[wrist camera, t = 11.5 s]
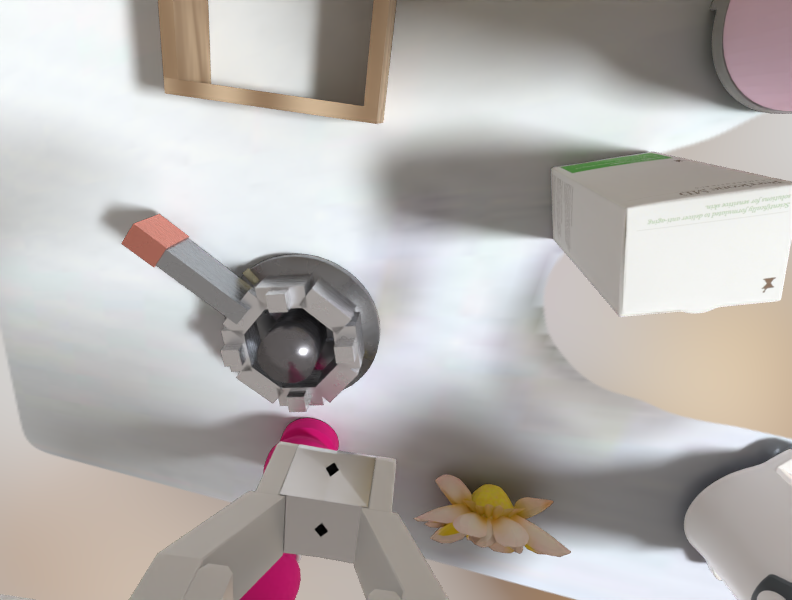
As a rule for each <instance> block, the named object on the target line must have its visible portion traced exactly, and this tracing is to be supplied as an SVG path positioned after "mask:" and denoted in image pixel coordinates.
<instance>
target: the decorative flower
mask: <svg viewBox="0 0 792 600" xmlns="http://www.w3.org/2000/svg"><path fill="white" fill-rule="evenodd" d="M435 482H436V483H437V485H438V486H439V488H440V489H441V491H442V492H443V493H444V495H445V496H446V497H447V499H448V500H449V501H450V503H451V504H452V505H447V506H443V507H439V508H436V509H433V510H431V511H429V512H427V513H425V514H422V515H420V516H418V517H416V518H414V519H415V520H416V521H423V522H425V521H428V522H427V523H425V525H427V526H429V527H433V528H438V527H440V528H439V529H438V530H437V531H436V532H435V533H434V534H433V535H432V536H431V537H430V539H432V540H434V541H437V542H440V543H453V542H456V541H458V540H461V539H463V538H464V537H465V536H466V535H467V536H466V538H467V540H471V541H472V542H473V543H474V544H475V545H477V546H480V547H489V548H491V549H492V550H493V551H497V552H502V553H512V552H514V551H515V552H517V553H519V554H520V553H522V551H523V546H525V547H526V548H527V549H528V550H530V551H533V552H535V553H537V554H547V555H551V556H557V557H561V556H564V555H567V554H570V553H571V551H570V550H568V549H567V548H566V547H565V546H563V545H562V544H561V543H559V542H558V541H557V540H556V539H555V538H553V537H552V536H551V535H549V534H548V533H547V532H545V531H544V530H542V529H541V528H539V527H538V526H536V525H535V524H533V523H531V522H530V521H528V520H526V519H528V518H530V517H532V516H534V515H536V514H538V513H540V512H542V511H543V510H545V509H547V508H548V507H549V506H550V505H551V504H552V503H553V501H551V500H546V499H538V498H531V497H524V498H521V499H519V500H518V501H516V503H515V505H514V507H513V505H512V503H511V501H510V499H509V497H508V496H507V494H506V493H505V492H504V491H503V490H502V488H501V487H498V486H496V485H493V484H484V485H482V486H481V487H479V488H478V489H477V490H475V491H474V492H473V493H472V495H471V492H470V491H469V489H468V488H467V487H466V485H465V484H464V483H463V482H462V481H461V480H460V479H459V478H457V477H455V476H452V475H446V474H444V475H442V476H440V477H438V478H437V479H436V480H435Z"/></svg>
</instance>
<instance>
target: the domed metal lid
mask: <svg viewBox="0 0 792 600" xmlns="http://www.w3.org/2000/svg"><path fill="white" fill-rule="evenodd" d="M242 274H243V276H242V277H241V279H242V280H243V281H245V282H246V283H247V284H249V285H250V286H251V287H253V286H254V285H255V284H256V283H257V282H258V281H259V280H260V279H261V280H263V279H264V278H265V277H266V276H272V275H293V274H313V280H314V283H315V282H316V281H317V279H318V278H319V277H320V276H321V277H322V278H323V279H324V280H326V281H327V282H328V283H329V284H331V285H332V286H333V287H334V288H336V289H337V290H338V291H339V292H341V293H342V294H343V295H344V296H346V297H347V298H348V299H349V300H351V301H352V302H353V303H354V304H356V308H355V311H354V312H360V314H361V323H362V332H363V340H364V349H365V353H364V356H363V360H362V364H361V368H360V369H359V373H358V375H357V376H356V377H355V378H354V379H353V380H352V381H351V382H350V383H349V384H348V385H347V386H346V387H345V388H344V389H346V388H348V387H349V386H351V385H353V384H354V383H355V382H357V381H358V380H359V379H360V378H361V377H362V376H363V375H364V374H365V373H366V372H367V370H368V369H369V368H370V366H371V364H372V362H373V360H374V358H375V355H376V353H377V349H378V344H379V339H380V321H379V316H378V312H377V309H376V307H375V304H374V302H373V300H372V298H371V296H370V294H369V293H368V291H367V290H366V289H365V287H364V286H363V285H362V284H361V283H360V281H359V280H358V279H357V278H356V277H355V276H353V275H352V274H351V273H350V272H348V271H347V270H346V269H344V268H342V267H341V266H339V265H338V264H335V263H333V262H331V261H329V260H326V259H324V258H321V257H317V256H312V255H307V254H285V255H280V256H275V257H272V258H269V259H267V260H265V261H263V262H260V263H259V264H257V265H256V266H254V267H253V268H251V269H249V268H248V269H247V270H245V271H244V272H243V273H242ZM226 319H227V317H226V316H225V320H226ZM256 322H257V326H258V331H259V335H260V340H261V343H260V345H259V347H258V351H257V358H258V362H259V364H260V366H261V368H262V369H263V371H264V372H265V373H266V374H267V375H269V376H270V377H271V378H273V379H275V380H277V381H280V382H284V383H296V382H300V381H302V380H304V379H306V378H307V377H308V376H309V375H310V374H311V373H312V371H313V370H323V369H324V368H325V367H326V366H327V365H328V364H329V363H330V362H331V361H332V360H333V359H334V358H335V352H334V345H335V342H334V335H333V331H331V330H330V329H329V328H328V327H326V326H325V325H324V324H322V323H321V322H320V321H319V320H317V319H316V318H315V317H313V316H312V315H311V314H309V313H308V312H307V311H306V310H304V309H303V308H290V310H289V311H288V312H276V313H269V310H268V309H265V310H264V311H263V312H262V313H261V315H260V316H259V317H258V318H257V320H256ZM344 389H343V390H344Z"/></svg>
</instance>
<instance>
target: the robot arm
mask: <svg viewBox="0 0 792 600" xmlns="http://www.w3.org/2000/svg"><path fill="white" fill-rule="evenodd" d="M375 459H376V460H375ZM374 466H375V467H374ZM395 472H396V459H395V458H388V457H380V456H372V455H365V454H358V453H350V452H343V451H335V450H330V449H324V448H318V447H313V446H307V445H301V444H300V445H298V444H293V443H287V442H282V441H280V442H279V443H278V444H277V446H276V448H275V450H274V452H273V454H272V456H271V459H270V461H269V463H268V465H267V467H266V469H265V472H264V474H263V476H262V478H261V480H260V483H259V485H258V487H257V489H256V491H248V492H247V493H245V494H244V495H242V496H241V497H239V498H238V499H236V500H235V501H234V502H232V503H231V504H229V505H228V506H226V507H225V508H223V509H222V510H220V511H219V512H217V513H216V514H215V515H213V516H212V517H210V518H209V519H207V520H206V521H204V522H203V523H201V524H200V525H199V526H197V527H195V528H194V529H192V530H191V531H190V532H188V533H187V534H185V535H184V536H182V537H181V538H179V539H178V540H176V541H175V542H174V543H172V544H171V545H169V546H168V547H166V548H165V549H163V550H162V551H160V552H159V553H158V554H157V555H156V557H155V558H154V560H153V562H152V563H151V565H150V566H149V568H148V570H147V571H146V573H145V575H144V576H143V578H142V579H141V581H140V583H139V584H138V586H137V587H136V589H135V590H134V592H133V594H132V595H131V597H130V598H129V600H240V599H241V598H242V597H243V595H244V594H245V593H246V592H247V591H248V590H249V589H250V588H251V587H252V586H253V585H254V584H255V583H256V582H257V581H258V580H259V579H260V578H261V577H262V576H263V575H264V574H265V573H266V572H267V571H268V570H269V569H270V568H271V567H272V566H273V565H274V564H275V563H276V562H277V561H278V560H279V559H280V558H281V557H282V555H283V553H289V554H297V555H306V556H314V557H321V558H326V559H332V560H338V561H343V562H348V563H353V564H354V568H355V570H356V573H357V575H358V578H359V581H360V584H361V587H362V589H363V592H364V595H365V598H366V600H449V598H448V597H447V595H446V593H445V592H444V590H443V588H442V587H441V585H440V583H439V581H438V580H437V578H436V576H435V575H434V573H433V571H432V570H431V568H430V566H429V565H428V563H427V561H426V560H425V558H424V556H423V555H422V553H421V551H420V550H419V548H418V546H417V544H416V543H415V541H414V539H413V538H412V536H411V534H410V533H409V531H408V529H407V528H406V526H405V524H404V523H403V521H402V519H401V518H400V516H399V514H398V513H394V512H392V506H393V495H394V484H395ZM373 473H374V474H373ZM372 480H373V481H372ZM371 487H372V488H371ZM684 531H685V535H686V537H687V539H688V541H689V542H690V544H691V545H692V546H693V547H694V548H695V549H696V550H697V551H698V552H699V553H700V554H701V555H702V556H703V558H704V559H705V560H706V561H707V565H708V567H709V569H710V571H711V572H712V573H713V575H714V576H715V577H716V578H717V579H718V580H720V581H723V582H724V583H725V585H726V586H727V587H728V589H729V590H730V591H731V592H732V594H733V595H734V596H735V598H736V599H737V600H792V449H788V450H786V451H784V452H782V453H780V454H778V455H776V456H775V457H773V458H771V459H770V460H768V461H766V462H765V463H762V464H759V465H756V466H753V467H749V468H746V469H742V470H739V471H736V472H733V473H731V474H729V475H726V476H724V477H722V478H720V479H719V480H717V481H715V482H714V483H712V484H711V485H709V486H708V487H706V488H705V489H704V490H703V491H702V492H701V493H700V494H699V495H698V496H697V497H696V498H695V499H694V500H693V502H692V503H691V505H690V506H689V508H688V510H687V512H686V515H685V519H684ZM0 600H34V599H28V598H21V597H15V596H8V595H1V594H0Z"/></svg>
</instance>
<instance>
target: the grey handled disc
mask: <svg viewBox="0 0 792 600" xmlns="http://www.w3.org/2000/svg"><path fill="white" fill-rule="evenodd" d="M188 238H189V236H188V235H186V234H185V233H184V232H182V231H181V230H180V229H178V228H177V227H176V226H175V225H173V224H172V223H171V222H169V221H168V220H167V219H165V218H164V217H163V216H161V215H160V214H158V215H155V216H153V217H150V218H147V219H145V220H142V221H139V222H136V223H134V224H133V225H132V227H131V229H130V230H129V232H128V233H127V235H126V237H125V238H124V240H123V242H122V243H121V244H122V245H124V246H125V247H127V248H128V249H129V250H131V251H132V252H133V253H135V254H136V255H137V256H139V257H140V258H142V259H143V260H144V261H146V262H147V263H148V264H150V265H151V266H153V267H155V266H157V267H159V268H160V269H161V270H163V271H164V272H165V273H167V274H168V275H170V276H171V277H172V278H174V279H175V280H176V281H178V282H179V283H180V284H182V285H183V286H185V287H186V288H187V289H189V290H190V291H191V292H193V293H194V294H195V295H197V296H198V297H200V298H201V299H202V300H204V301H205V302H206V303H208V304H209V305H211V306H212V307H213V308H215V309H216V310H217V311H219V312H220V313H221V314H223V315H224V316H226V317H227V319H226V320H225V321H224V323H223V325H224V326H225V327H224V328H223V329H222V330H221V333H222V337H223V341H224V345H225V346H224V347H223V348H222V349H221V355H222V358H223V362H224V366H230V369H231V372H239V371H240V373H239V374H238V375H237V377H236V378H237V379H238V380H240V381H241V382H243V383H244V384H245V385H247V386H248V387H250V388H251V389H253V390H254V391H255V392H257V393H258V394H260V395H261V396H263V397H264V398H265V399H267V400H268V401H270V402H271V403H274V402H275V401H276V400H277V399H279V403H280V406H288V408H289V412H306V411H307V409H308V406H309V405H324V402H325V400H327V401H329V402H331V401H332V400H333V399H334V398H335V397H336V396H337V395H338V394H339V393H340V392H341V391H342V390H343V389H344V388H345V387H346V386H347V385H348V384H349V383H350V382H351V381H352V380H353V379H354V378H355V377H356V376H357V375H358V373H359V369H360V368H361V364H362V360H363V356H364V353H365V349H364V340H363V332H362V323H361V314H360V312H354V311H355V308H356V304H354V303H353V302H352V301H351V300H349V299H348V298H347V297H346V296H344V295H343V294H342V293H341V292H339V291H338V290H337V289H336V288H334V287H333V286H332V285H331V284H329V283H328V282H327V281H326V280H324V279H323V278H322V277H321V276H320V277H319V278H318V279H317V281H316V282H315V283H314V280H313V274H293V275H272V276H266V277H265V278H264V279H263V280H261V279H260V280H259V281H258V282H257V283H256V284H255V285H254V286H253V287H251V286H250V285H249V284H247V283H246V282H245V281H243V280H242V279H241V278H240V277H238V276H237V275H236V274H234V273H233V272H232V271H230V270H229V269H228V268H226V267H225V266H224V265H222V264H221V263H220V262H219V261H217V260H216V259H215V258H213V257H212V256H211V255H209V254H208V253H207V252H205V251H204V250H203V249H201V248H200V247H199V246H197V245H196V244H195V243H194V242H192V241H191V240H190V239H188ZM290 308H303V309H304V310H306V311H307V312H308V313H309V314H311V315H312V316H313V317H315V318H316V319H317V320H319V321H320V322H321V323H322V324H324V325H325V326H326V327H328V328H329V329H330V330H331V331H333V335H334V342H335V345H334V352H335V358H334V359H333V360H332V361H331V362H330V363H329V364H328V365H327V366H326V367H325V368H324V369H323V370H313V371H312V373H311V374H310V375H309V376H308V377H307V378H306V379H304V380H302V381H300V382H296V383H284V382H280V381H277V380H275V379H273V378H271V377H270V376H269V375H267V374H266V373H265V372H264V371H263V369H262V368H261V366H260V364H259V362H258V358H257V351H258V347H259V345H260V343H261V340H260V335H259V331H258V326H257V322H256V320H257V318H258V317H259V316H260V315H261V313H262V312H263V311H264V310H265V309H268V310H269V313H276V312H288V311H289V310H290Z"/></svg>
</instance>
